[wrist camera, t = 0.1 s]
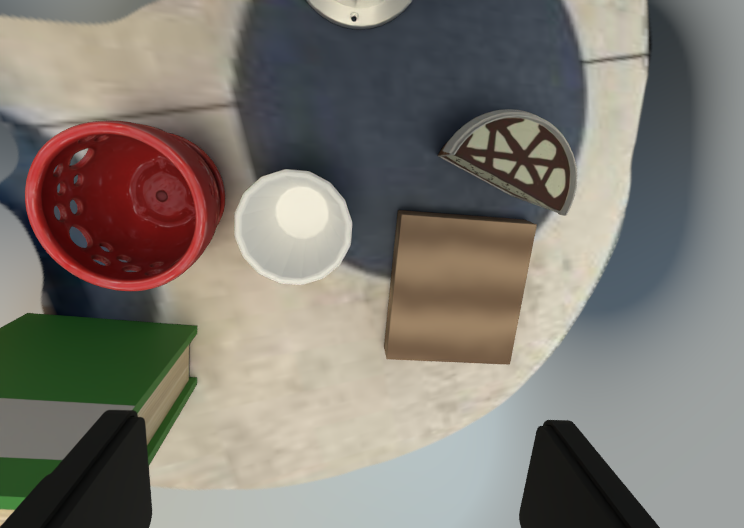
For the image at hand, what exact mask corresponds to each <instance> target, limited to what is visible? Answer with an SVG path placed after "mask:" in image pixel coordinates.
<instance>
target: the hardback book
mask: <svg viewBox="0 0 744 528" xmlns="http://www.w3.org/2000/svg"><path fill="white" fill-rule="evenodd" d="M196 334H197V326H192V325H179V324H166V323H153V322H139V321H126V320H113V319H100V318H87V317H73V316H60V315H47V314H33V313H27V314H25V315H23V316H21V317H19V318H18V319H16V320H14V321H12V322H10V323H8V324H7V325H5V326H3V327H1V328H0V526H1V525H2V524H3V523H4V522H5V521H6V519H7V518H8V517H9V516H10V515H11V514H12V513H13V512H14V510H15V509H16V508H17V507H18V506H19V505H20V504H21V502H22V501H23V500H24V499H25V498H26V497H27V496H28V495H29V493H30V492H31V491H32V490H33V489H34V488H35V487H36V485H37V484H38V483H39V482H40V481H41V480H42V479H43V478H44V477H45V476H47V475H48V474H50V473H52V471H53V470H54V469H55V468H56V467H57V466H58V465H59V463H60V462H61V461H62V460H63V459H64V458H65V457H66V455H67V454H68V453H69V452H70V451H71V450H72V449H73V447H74V446H75V445H76V444H77V443H78V442H79V441H80V439H81V438H82V437H83V436H84V435H85V434H86V433H87V431H88V430H89V429H90V428H91V427H92V426H93V425H94V423H95V422H96V421H97V420H98V419H99V418H100V416H101V415H102V414H103V413H104V412H105V411H107V410H134V411H136V412H137V414H138V417H143V418H144V419H145V425H146V438H147V451H148V464H149V465H150V463H151V461H152V460H153V458H154V456H155V455H156V453H157V451H158V450H159V448H160V446H161V444H162V443H163V441H164V439H165V438H166V436H167V434H168V433H169V431H170V429H171V428H172V426H173V424H174V422H175V421H176V419H177V417H178V416H179V414H180V412H181V411H182V409H183V407H184V406H185V404H186V402H187V400H188V399H189V397H190V395H191V394H192V392H193V390H194V389H195V387H196V385H197V378H196V377H189V344H190V343H191V341H192V340H193V338H194V337H195V336H196Z"/></svg>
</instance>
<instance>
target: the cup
mask: <svg viewBox="0 0 744 528" xmlns="http://www.w3.org/2000/svg"><path fill="white" fill-rule="evenodd" d="M351 233H352V220H351V217H350V214H349V211H348V208H347V205H346V202H345V199H344V198H343V197H342V196H341V195H340V193H339V192H338V191H337V190H336V189H335V188H334V186H333V185H332V184H331V183H330V182H329V181H327V180H325V179H323V178H321V177H319V176H317V175H315V174H314V173H312V172H310V171H301V170H290V169H284V170H281V171H278V172H275V173H272V174H269V175H265V176H262V177H261V178H260V179H258V180H257V181H256V182H255V183H254V184H253V185H252V186H251V187H249V188H248V189H247V190H246V191H245V192H244V193H243V196H242V198H241V200H240V202H239V204H238V207H237V209H236V211H235V214H234V237H235V239H236V242H237V244H238V246H239V249H240V251H241V254H242V256H243V258H244V259H245V260H246V261H247V262H248V263H249V264H250V265H251V266H252V267H253V268H254V269H255V270H256V271H257V272H258V273H259V274H260V275H262V276H265V277H267V278H269V279H271V280H273V281H275V282H277V283H280V284H294V285H304V284H307V283H310V282H314V281H317V280H320V279H323V278H324V277H326V276H327V275H328V274H329V273H331V272H332V271H333V270H334V269H335V268H337V267H338V266H339V265H340V264H341V262H342V260H343V258H344V256H345V255H346V253H347V251H348V249H349V247H350V245H351Z"/></svg>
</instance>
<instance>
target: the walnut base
mask: <svg viewBox="0 0 744 528" xmlns="http://www.w3.org/2000/svg"><path fill="white" fill-rule="evenodd" d="M536 226H537V225H536V224H534V223H531V222H529V221H527V220H524V219H510V218H497V217H484V216H471V215H457V214H444V213H431V212H418V211H404V210H398V215H397V225H396V234H395V244H394V254H393V264H392V273H391V283H390V293H389V303H388V312H387V322H386V332H385V342H384V349H385V354H386V359H396V360H418V361H441V362H464V363H487V364H510V361H511V356H512V350H513V345H514V340H515V335H516V330H517V324H518V319H519V314H520V309H521V304H522V298H523V293H524V288H525V283H526V278H527V272H528V267H529V262H530V257H531V252H532V246H533V241H534V236H535V231H536Z"/></svg>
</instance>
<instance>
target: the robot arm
mask: <svg viewBox="0 0 744 528" xmlns="http://www.w3.org/2000/svg"><path fill="white" fill-rule="evenodd" d="M306 1H307V2H308V4H309V5H310V6H311V7H312V8H313V9H314V10H315V11H316V12H317V13H318V14H319V15H321V16H322V17H324V18H325V19H327V20H328V21H330V22H332V23H334V24H337V25H339V26H342V27H345V28H351V29H371V28H374V27H378V26H382V25H384V24H386V23H388V22H390V21H392V20H393V19H395V18H396V17H397V16H399V15H400V14H401V13H402V12H404V10H405V9H406V8H407V7H408V6H409V5H410V3H411V2H412V1H413V0H306ZM352 17H356V18H357V21H356V22H353V21H352V20H351V18H352ZM151 518H152V503H151V490H150V477H149V464H148V451H147V438H146V425H145V419H144V418H143V417H138V414H137V412H136V411H134V410H107V411H105V412H104V413H103V414H102V415H101V416H100V418H99V419H98V420H97V421H96V422H95V423H94V425H93V426H92V427H91V428H90V429H89V430H88V431H87V433H86V434H85V435H84V436H83V437H82V438H81V439H80V441H79V442H78V443H77V444H76V445H75V446H74V447H73V449H72V450H71V451H70V452H69V453H68V454H67V455H66V457H65V458H64V459H63V460H62V461H61V462H60V463H59V465H58V466H57V467H56V468H55V469H54V470H53V471H52V473H50V474H48V475H47V476H45V477H44V478H43V479H42V480H41V481H40V482H39V483H38V484H37V485H36V487H35V488H34V489H33V490H32V491H31V492H30V493H29V495H28V496H27V497H26V498H25V499H24V500H23V501H22V502H21V504H20V505H19V506H18V507H17V508H16V509H15V510H14V512H13V513H12V514H11V515H10V516H9V517H8V518H7V519H6V521H5V522H4V523H3V524H2V525H1V526H0V528H149V526H150V522H151ZM519 520H520V525H521V528H660V527H659V526H658V525H657V524H656V522H655V521H654V520H653V519H652V518H651V516H650V515H649V514H648V513H647V512H646V510H645V509H644V508H643V507H642V506H641V504H640V503H639V502H638V501H637V499H636V498H635V497H634V496H633V495H632V493H631V492H630V491H629V490H628V489H627V487H626V486H625V485H624V484H623V482H622V481H621V480H620V479H619V478H618V476H617V475H616V474H615V473H614V471H613V470H612V469H611V468H610V467H609V466H608V464H607V463H606V462H605V461H604V459H603V458H602V457H601V456H600V455H599V453H598V452H597V451H596V450H595V448H594V447H593V446H592V445H591V444H590V443H589V441H588V440H587V439H586V438H585V436H584V435H583V434H582V433H581V432H580V430H579V429H578V428H577V427H576V426H575V424H574V423H573V422H572V421H568V420H567V421H565V420H547V421H545V422H544V424H543V426H540V427H538V429H537V431H536V436H535V441H534V446H533V450H532V456H531V460H530V465H529V470H528V474H527V479H526V484H525V488H524V493H523V498H522V503H521V507H520V513H519Z"/></svg>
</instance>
